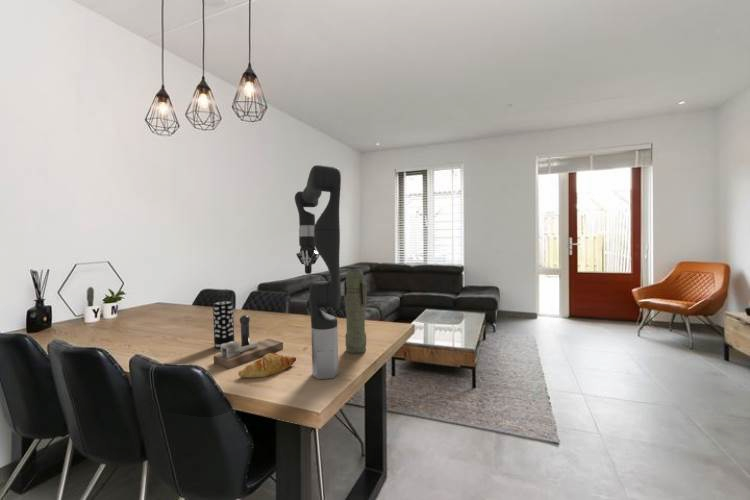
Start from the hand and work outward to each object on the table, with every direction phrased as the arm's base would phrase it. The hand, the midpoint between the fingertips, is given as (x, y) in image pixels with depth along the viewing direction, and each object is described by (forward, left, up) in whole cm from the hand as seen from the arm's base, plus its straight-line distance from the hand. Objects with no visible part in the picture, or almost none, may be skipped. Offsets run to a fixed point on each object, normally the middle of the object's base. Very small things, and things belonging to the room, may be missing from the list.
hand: (308, 273), depth 151 cm
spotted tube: (+7, +38, -33) cm, 51 cm away
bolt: (-12, +27, -29) cm, 41 cm away
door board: (-9, +24, -33) cm, 42 cm away
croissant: (-28, +15, -33) cm, 46 cm away
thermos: (-13, -20, -33) cm, 40 cm away
